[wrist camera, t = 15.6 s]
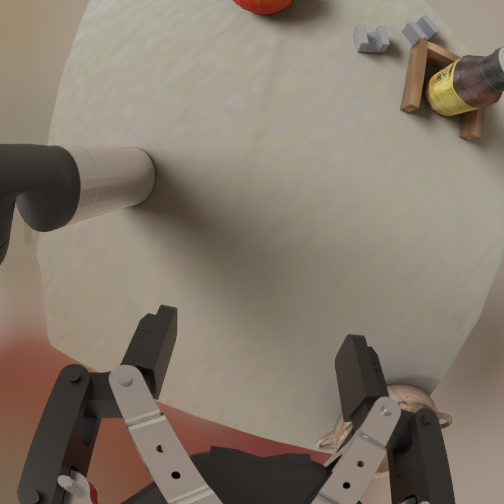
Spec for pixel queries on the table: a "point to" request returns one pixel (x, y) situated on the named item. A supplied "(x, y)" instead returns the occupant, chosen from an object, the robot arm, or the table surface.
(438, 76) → the sauce bottle
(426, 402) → the cooking pot
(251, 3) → the fruit
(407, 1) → the table surface
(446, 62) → the frame
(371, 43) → the clip
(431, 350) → the table surface
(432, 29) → the clip
